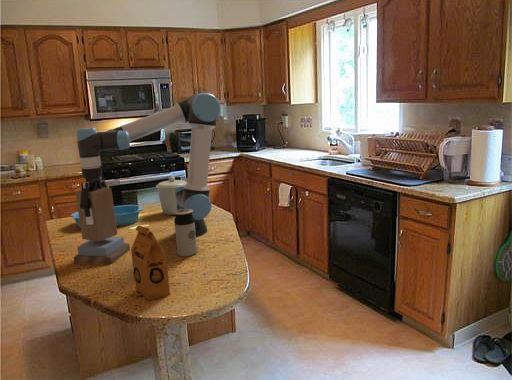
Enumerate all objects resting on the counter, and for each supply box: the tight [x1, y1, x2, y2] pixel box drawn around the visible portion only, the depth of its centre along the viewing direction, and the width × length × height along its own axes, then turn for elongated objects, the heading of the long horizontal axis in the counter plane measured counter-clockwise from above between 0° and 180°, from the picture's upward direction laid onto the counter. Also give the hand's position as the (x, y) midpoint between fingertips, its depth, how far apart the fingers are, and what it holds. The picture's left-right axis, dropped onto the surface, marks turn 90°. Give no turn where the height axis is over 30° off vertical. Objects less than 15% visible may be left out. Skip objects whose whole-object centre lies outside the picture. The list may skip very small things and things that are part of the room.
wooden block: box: [75, 187, 118, 242], centre depth 171 cm, size 10×10×20 cm
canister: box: [155, 175, 188, 216], centre depth 237 cm, size 18×18×21 cm
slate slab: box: [76, 236, 125, 256], centre depth 174 cm, size 13×13×4 cm
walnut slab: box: [73, 242, 131, 265], centre depth 174 cm, size 16×16×4 cm
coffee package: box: [130, 224, 171, 301], centre depth 136 cm, size 10×12×22 cm
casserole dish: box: [70, 204, 145, 229], centre depth 225 cm, size 37×22×7 cm, turn 104°
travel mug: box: [173, 209, 198, 257], centre depth 171 cm, size 8×8×18 cm
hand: (98, 219), depth 171 cm, fingers closed on wooden block, 12 cm apart
